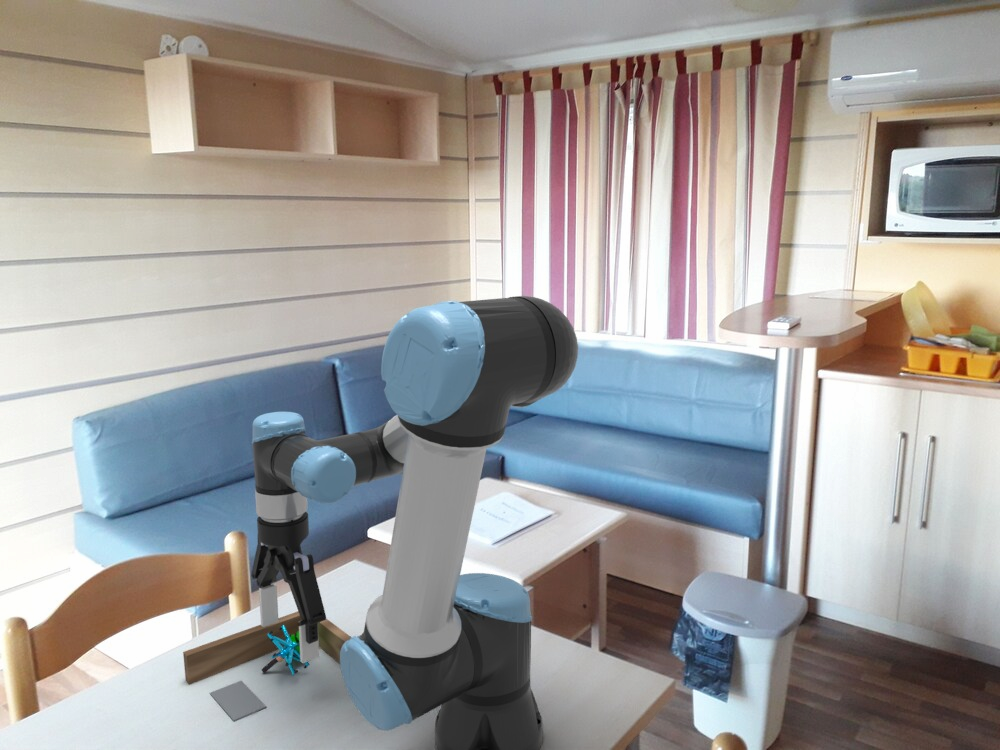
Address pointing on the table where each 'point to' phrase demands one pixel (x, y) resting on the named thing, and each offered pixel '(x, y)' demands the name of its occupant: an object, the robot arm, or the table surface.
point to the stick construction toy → (285, 650)
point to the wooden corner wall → (254, 647)
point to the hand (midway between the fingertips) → (289, 640)
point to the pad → (237, 700)
